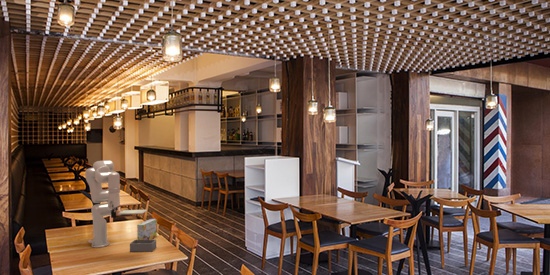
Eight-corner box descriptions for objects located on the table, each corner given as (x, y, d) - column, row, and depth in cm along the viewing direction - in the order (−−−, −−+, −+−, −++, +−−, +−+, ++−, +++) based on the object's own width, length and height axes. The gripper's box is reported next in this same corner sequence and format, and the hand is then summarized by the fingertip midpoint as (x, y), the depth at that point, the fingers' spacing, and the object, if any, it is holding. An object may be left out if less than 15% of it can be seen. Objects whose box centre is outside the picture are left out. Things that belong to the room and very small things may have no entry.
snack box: (143, 244, 304) (143, 224, 304) (137, 244, 305) (136, 224, 305) (157, 236, 325) (156, 218, 324) (151, 236, 326) (150, 218, 326)
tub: (129, 252, 285) (129, 243, 285) (134, 247, 295) (134, 239, 295) (152, 251, 285) (152, 243, 285) (156, 247, 295) (156, 239, 295)
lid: (109, 216, 270) (109, 212, 270) (115, 213, 281) (115, 209, 281) (142, 215, 271) (142, 211, 270) (147, 212, 281) (147, 208, 281)
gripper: (113, 189, 283) (113, 214, 284) (103, 192, 267) (104, 219, 267) (123, 188, 283) (124, 214, 284) (114, 192, 267) (115, 219, 267)
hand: (114, 216), depth 275 cm, fingers closed on lid, 3 cm apart
